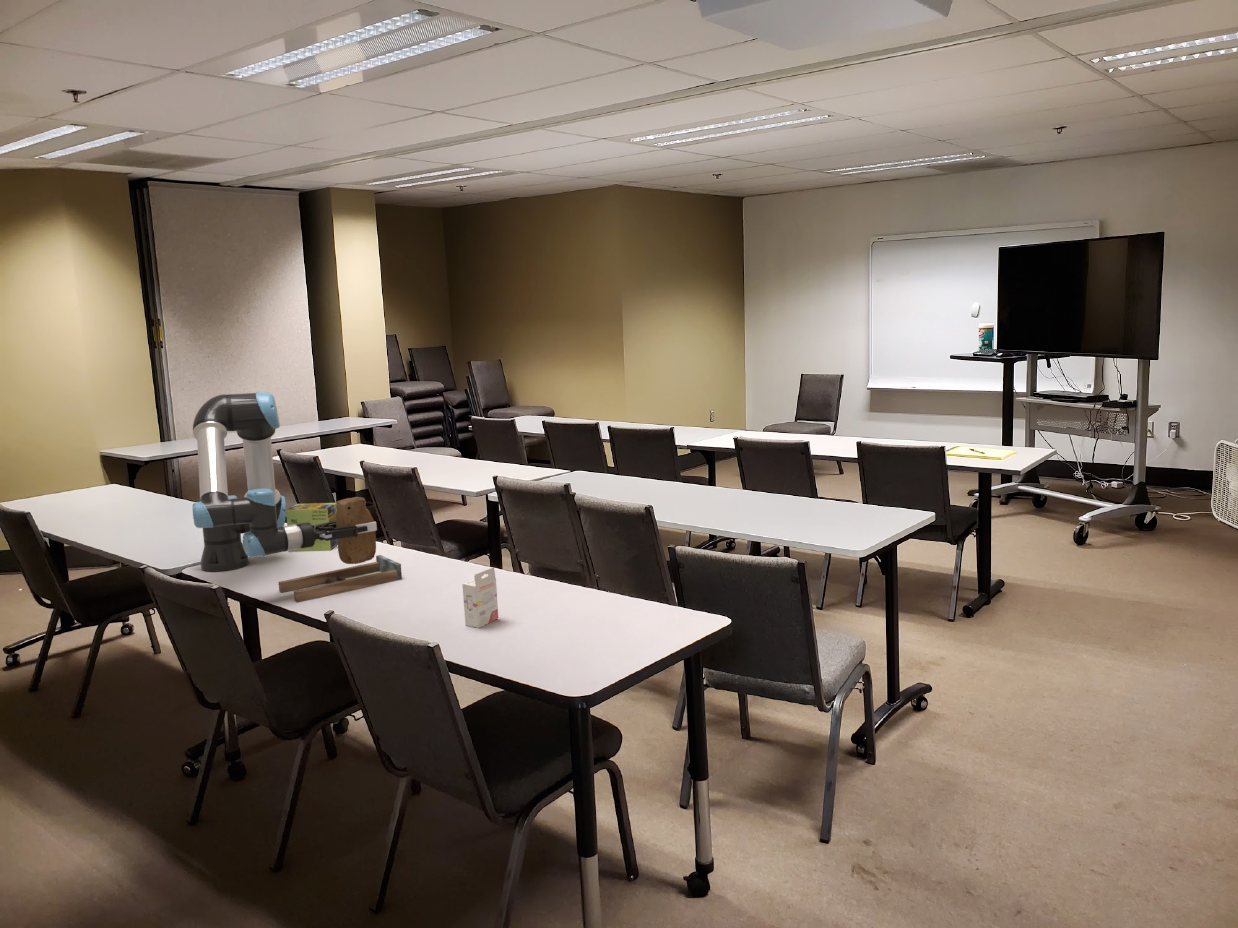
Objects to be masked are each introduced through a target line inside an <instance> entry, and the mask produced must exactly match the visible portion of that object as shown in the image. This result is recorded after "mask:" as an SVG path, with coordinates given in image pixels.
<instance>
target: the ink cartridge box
mask: <svg viewBox="0 0 1238 928" xmlns="http://www.w3.org/2000/svg"><path fill="white" fill-rule="evenodd" d="M485 575H487V576H485ZM473 577H474V578H473V579H471V580H469V581H466V582H464V583H462V596H463V610H464V623H465V625H464V626H465V627H473V628H478V629H479V628H482V627H484V626H486V625H488V624H490V623H492V622H495V621H496V620H495V619H497V618H498V619H499V610H498V609H499V606H498V589H497V588H498V587H497V578H496V571H495V567H491V568H488V569H484V570H483V571H481V572H478V573H476V574H474V576H473ZM498 619H497V620H498ZM491 621H492V622H491ZM485 624H486V625H485ZM481 626H482V627H481Z"/></svg>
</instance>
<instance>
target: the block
mask: <svg viewBox="0 0 1238 928" xmlns="http://www.w3.org/2000/svg"><path fill="white" fill-rule="evenodd" d="M335 503H336V508H337V512H336V528H341V527H352V526H355V525H359V524H365V523H370V522H375V521H374V520H375V519H374V518H373V516H372V514H371V512H370V510H369V509H368V508H367V506H366V505H367V501H366V498H364V497H361V496H355V497H348V498H343V499H340V500H337V501H336V502H335ZM376 535H377V534H376V531H371V532H366V533H360V534H358V537H356V536H353V537H346V538H339V539H337V553H338V556H339V559H340V561H341V562H342V563H343V564H347V565H356V564H357V565H358V564H362V563H365V562H369V561H371V560H373V559H374V558H375V556H376V552H377V538H376V537H377V536H376Z"/></svg>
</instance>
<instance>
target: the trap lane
mask: <svg viewBox="0 0 1238 928" xmlns="http://www.w3.org/2000/svg"><path fill="white" fill-rule="evenodd" d="M375 560H376V561H373V562H369V563H364V564H359V565H358V564H357V565H355V566H354V565H353V566H350V567H346V568H340V569H335V570H329V571H325V572H320V573H315V574H311V575H307V576H306V575H305V576H302V577H301V576H300V577H296V578H291V579H287V580H281V581H278V591H279V592H280V593H287V592H291V591H293V598H294V602H295V603H301V602H306V601H309V600H310V601H311V600H313V599H318V598H319V599H320V598H323V597H328V596H332V595H337V594H341V593H345V592H350V591H351V592H352V591H354V590H358V589H363V588H364V589H365V588H368V587H374V586H377V585H383V584H387V583H392V582H395V581H399V580H402V579H403V577H402V576H403V575H402V563H400V562H398V561H395V560H393V559H390V558H389V557H386V556H384V555H381V554H378V555H375Z"/></svg>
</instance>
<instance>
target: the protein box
mask: <svg viewBox="0 0 1238 928" xmlns="http://www.w3.org/2000/svg"><path fill="white" fill-rule="evenodd" d="M336 503H337V502H318V503H317V502H314V503H296V504H294V505H292V506H291V507H288V508H287V509H286V510H285V511H286V517H285V519H286V526H288V525H294V524H295V525H297V524H301V523H307V522H309V523H310V524H311V525H318V524H323V523H328V522H332V521H336V512H337V508H336ZM336 547H338V545H337V539H333V540H329V541H325V540H319V539H316V540H315V544H314V546H312V547H308V548H303V549H302V548H299V549H296V550H292V552H323V551H325V552H327V551H329V552H330V551H332V550H333V549H335V548H336Z"/></svg>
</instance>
